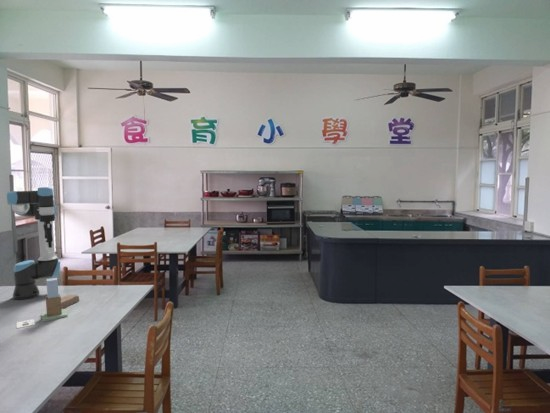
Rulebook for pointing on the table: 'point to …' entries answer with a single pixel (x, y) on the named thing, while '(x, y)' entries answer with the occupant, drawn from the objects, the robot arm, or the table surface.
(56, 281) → the bluegrey block
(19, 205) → the robot arm
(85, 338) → the table surface
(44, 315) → the pad
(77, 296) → the brick
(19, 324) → the page
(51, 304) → the walnut block
